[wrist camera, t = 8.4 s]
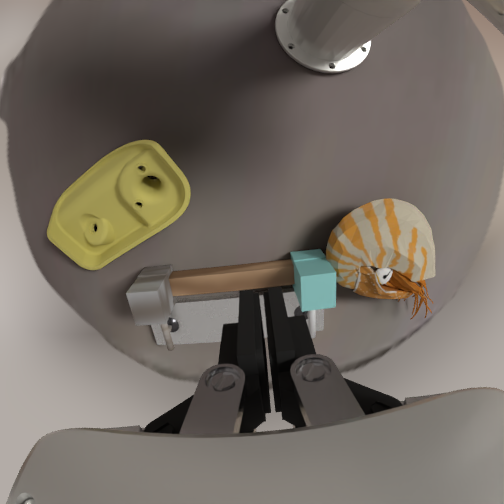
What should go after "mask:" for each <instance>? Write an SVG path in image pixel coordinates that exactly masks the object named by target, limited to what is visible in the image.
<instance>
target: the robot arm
mask: <svg viewBox="0 0 504 504" xmlns="http://www.w3.org/2000/svg"><path fill="white" fill-rule="evenodd" d="M467 1H468V2H469V3H470V4H471V5H473V6H474V7H475V8H476V9H477V10H478V11H479V12H480V13H481V14H482V15H484V16H485V17H486V18H487V19H488V20H489V21H490V22H491V23H492V24H493V25H494V26H495V27H496V28H497V29H498V30H499V31H500V32H502V34H504V0H467ZM420 2H421V0H287V1H286V2H285V3H284V4H283V5H282V6H281V7H280V9H279V11H278V13H277V16H276V20H275V31H276V36H277V38H278V41H279V43H280V45H281V46H282V48H283V49H284V51H285V52H286V53H287V54H288V55H289V56H290V57H291V58H292V59H294V60H295V61H296V62H298V63H299V64H301V65H303V66H305V67H307V68H309V69H312V70H314V71H318V72H323V73H342V72H345V71H349V70H351V69H353V68H355V67H356V66H358V65H359V64H360V63H362V62H363V60H364V59H365V58H366V57H367V55H368V53H369V51H370V47H371V40H372V39H373V38H374V37H376V36H377V35H378V34H380V33H381V32H382V31H384V30H385V29H386V28H388V27H389V26H390V25H392V24H393V23H394V22H396V21H397V20H399V19H400V18H401V17H403V16H404V15H406V14H407V13H408V12H410V11H411V10H413V9H414V8H415V7H416V6H417V5H418V4H419V3H420ZM284 12H285V13H286V14H285V13H284ZM288 47H291V48H292V49H289V48H288ZM361 50H362V51H363V52H362V51H361ZM329 66H331V67H332V69H330V68H329ZM263 297H264V308H265V318H266V328H267V339H268V349H269V359H270V367H271V376H272V385H273V393H274V401H275V411H276V412H282V420H286V421H287V422H289V423H291V424H293V429H285V430H275V431H265V432H256V428H257V427H258V426H259V425H260V424H261V423H262V422H264V421H266V417H265V413H271V408H270V395H269V382H268V370H267V358H266V347H265V339H264V331H263V323H262V314H261V306H260V298H259V293H254V292H253V290H245V291H240V293H239V315H238V323H228V324H223V328H222V337H221V345H220V354H219V362H218V365H215V366H212V367H211V368H209V369H207V370H206V371H205V372H204V373H203V374H202V376H201V378H200V380H199V383H198V386H197V388H196V391H195V394H194V395H192V396H191V397H190V398H188V399H186V400H185V401H183V402H182V403H180V404H179V405H177V406H176V407H174V408H173V409H171V410H169V411H168V412H166V413H165V414H163V415H161V416H160V417H159V418H157V419H155V420H154V421H152V422H151V423H149V424H148V425H147V426H146V427H145V428H141V427H140V426H139V425H138V426H129V427H119V428H104V429H100V428H71V429H64V430H58V431H55V432H51V433H49V434H46V435H45V436H43V437H42V438H41V439H39V440H38V442H37V443H36V444H35V445H34V447H33V448H32V450H31V451H30V453H29V454H28V456H27V458H26V460H25V461H24V463H23V465H22V467H21V469H20V471H19V473H18V475H17V478H16V480H15V482H14V484H13V487H12V489H11V492H10V495H9V497H8V500H7V503H6V504H504V391H503V390H500V389H497V388H490V387H479V388H467V389H461V390H456V391H452V392H448V393H441V394H435V395H427V396H419V397H409V398H405V401H399V400H397V399H395V398H394V397H392V396H389V395H386V394H383V393H381V392H378V391H376V390H373V389H370V388H368V387H365V386H362V385H360V384H357V383H355V382H353V381H350V380H348V379H345V378H343V376H342V375H341V373H340V371H339V370H338V368H337V366H336V365H335V363H334V362H333V361H332V360H331V359H330V358H328V357H327V356H323V355H320V354H316V352H315V349H314V345H313V342H312V338H311V335H310V332H309V328H308V325H307V322H306V318H305V316H304V315H300V316H292V317H288V315H287V311H286V306H285V301H284V297H283V292H282V288H281V286H280V287H272V288H268V292H263Z"/></svg>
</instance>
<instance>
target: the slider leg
mask: <svg viewBox="0 0 504 504" xmlns="http://www.w3.org/2000/svg"><path fill="white" fill-rule="evenodd" d="M290 255H291V260H292V262H293V265H294V280H295V284H293V288H294V291H295V294H296V296H297V299H298V302H299V305H300V308H301V311H302V312H304V311H308V312H307V317H308V328H309V332H310V335H311V338H314V337H315V336H316V310H318V309H326V308H332V307H336V271H335V270H334V268H333V267H332V266H331V264H330V263H329V261H328V260H326V256H325V255H324V253H323V252H322V251H321V249H314V250H305V251H296V252H290Z"/></svg>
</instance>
